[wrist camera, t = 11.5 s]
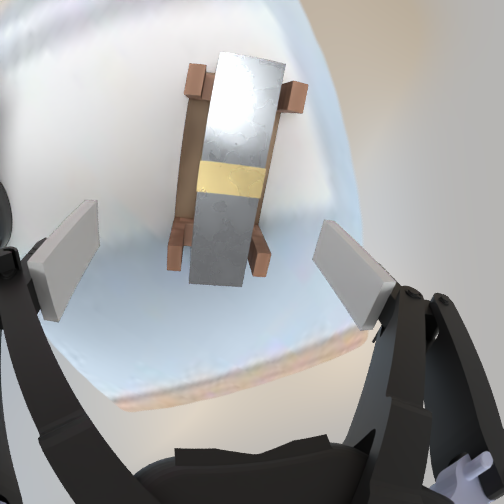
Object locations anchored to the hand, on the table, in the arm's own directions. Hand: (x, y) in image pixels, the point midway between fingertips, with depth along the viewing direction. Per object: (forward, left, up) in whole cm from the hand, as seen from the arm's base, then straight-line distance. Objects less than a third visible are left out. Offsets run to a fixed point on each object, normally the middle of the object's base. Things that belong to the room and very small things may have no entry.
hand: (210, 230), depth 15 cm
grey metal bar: (+2, 0, -18) cm, 18 cm away
